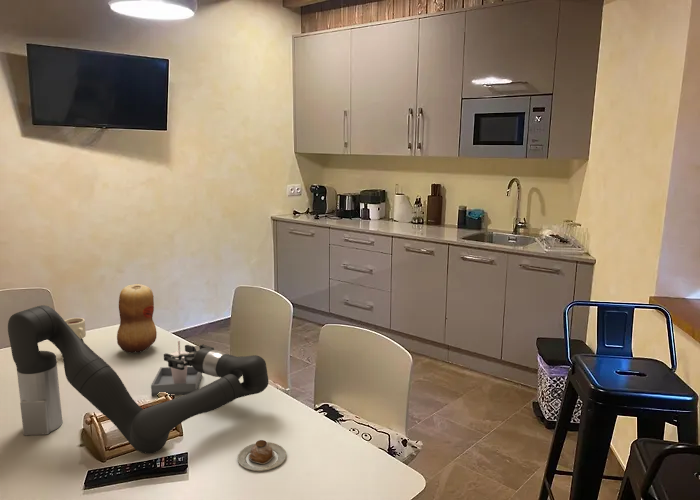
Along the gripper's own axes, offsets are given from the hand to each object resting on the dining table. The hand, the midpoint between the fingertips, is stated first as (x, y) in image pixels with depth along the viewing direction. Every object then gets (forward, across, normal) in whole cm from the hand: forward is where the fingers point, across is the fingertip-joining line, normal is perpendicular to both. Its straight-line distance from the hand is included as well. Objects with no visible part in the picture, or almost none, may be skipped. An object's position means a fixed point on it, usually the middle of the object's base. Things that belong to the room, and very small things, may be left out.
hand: (175, 352), depth 170 cm
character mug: (+49, -3, -10) cm, 50 cm away
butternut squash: (+33, +11, -10) cm, 37 cm away
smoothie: (-2, 0, -10) cm, 10 cm away
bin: (0, 0, -11) cm, 11 cm away
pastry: (-49, -17, -13) cm, 53 cm away
